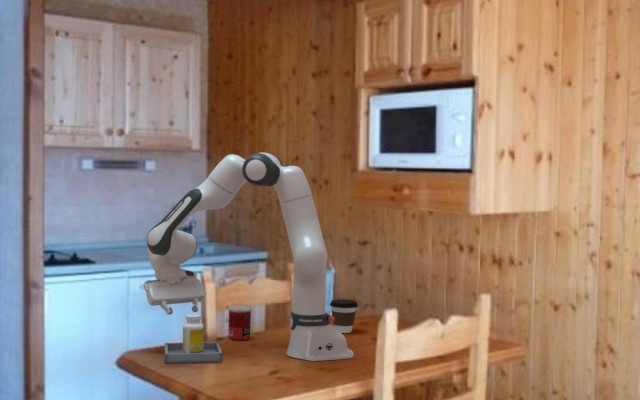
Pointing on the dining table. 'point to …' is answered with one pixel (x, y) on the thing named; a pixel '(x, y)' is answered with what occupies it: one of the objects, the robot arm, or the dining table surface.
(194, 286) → the robot arm
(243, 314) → the canned food
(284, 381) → the dining table surface
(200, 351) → the supplement bottle
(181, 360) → the tray
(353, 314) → the coffee cup
